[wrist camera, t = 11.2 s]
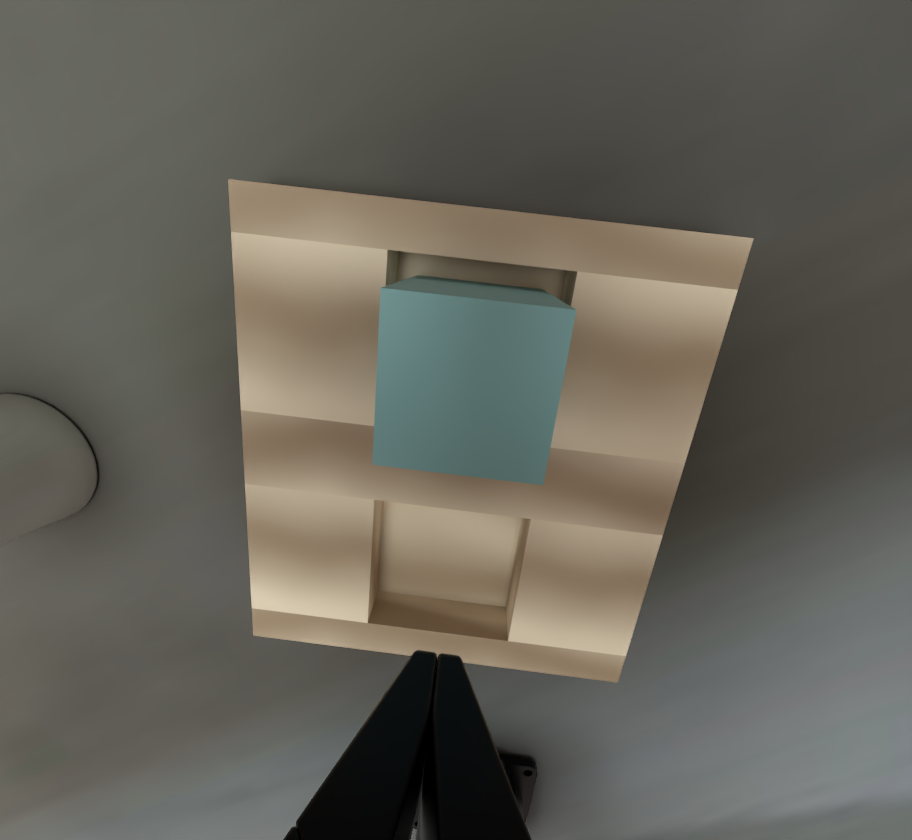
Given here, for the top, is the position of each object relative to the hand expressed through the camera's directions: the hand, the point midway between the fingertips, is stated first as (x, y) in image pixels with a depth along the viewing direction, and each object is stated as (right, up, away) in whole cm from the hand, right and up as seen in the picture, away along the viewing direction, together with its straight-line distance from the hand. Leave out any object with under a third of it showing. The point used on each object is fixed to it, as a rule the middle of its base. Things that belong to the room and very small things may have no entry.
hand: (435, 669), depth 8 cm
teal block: (+1, +7, +9) cm, 12 cm away
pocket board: (0, +3, +11) cm, 12 cm away
